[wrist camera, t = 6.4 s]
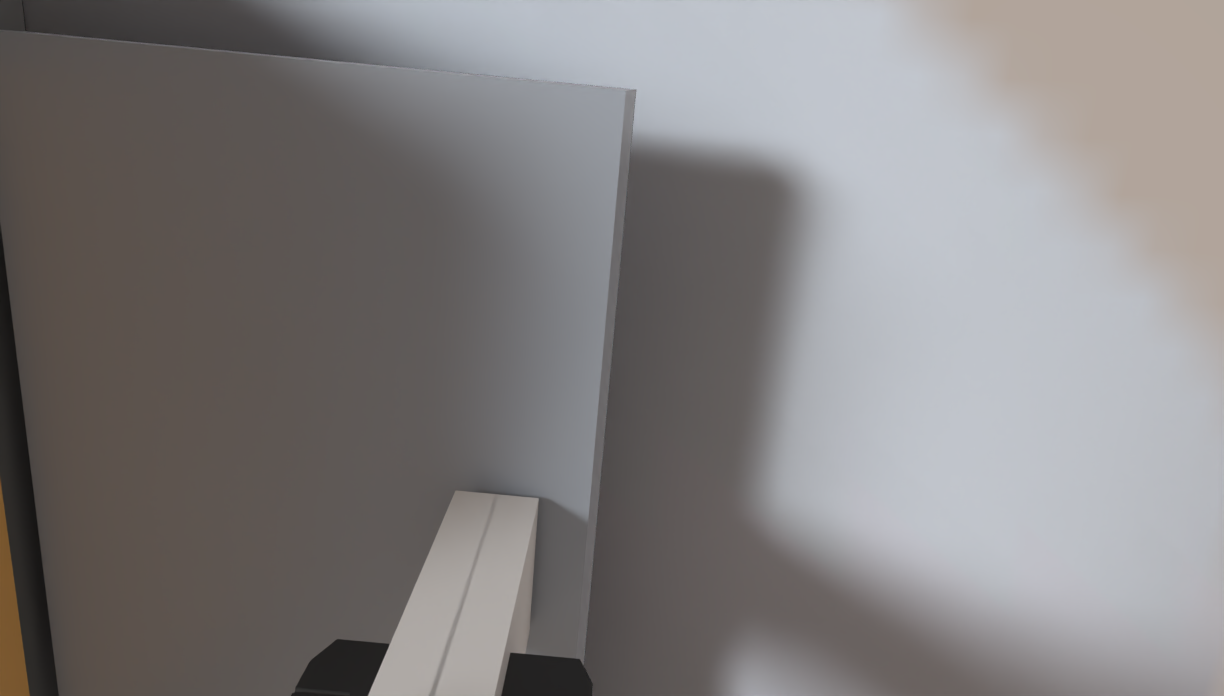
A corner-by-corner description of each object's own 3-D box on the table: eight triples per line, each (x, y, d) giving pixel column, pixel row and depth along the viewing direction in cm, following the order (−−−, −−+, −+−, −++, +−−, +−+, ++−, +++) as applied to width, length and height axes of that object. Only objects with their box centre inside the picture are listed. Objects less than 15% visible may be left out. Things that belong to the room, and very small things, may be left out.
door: (71, 794, 20) (553, 906, 18) (-24, 28, 15) (625, 90, 13) (132, 731, 22) (575, 828, 20) (67, 33, 17) (645, 88, 15)
